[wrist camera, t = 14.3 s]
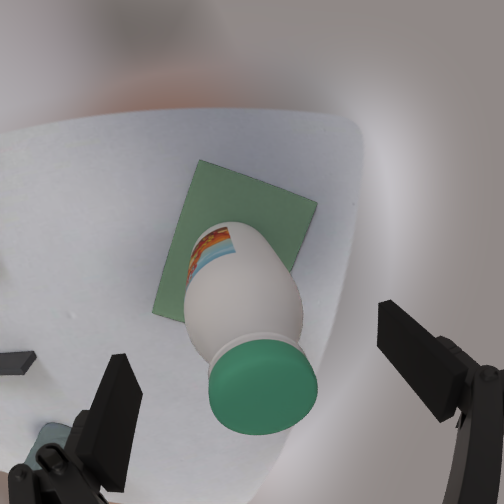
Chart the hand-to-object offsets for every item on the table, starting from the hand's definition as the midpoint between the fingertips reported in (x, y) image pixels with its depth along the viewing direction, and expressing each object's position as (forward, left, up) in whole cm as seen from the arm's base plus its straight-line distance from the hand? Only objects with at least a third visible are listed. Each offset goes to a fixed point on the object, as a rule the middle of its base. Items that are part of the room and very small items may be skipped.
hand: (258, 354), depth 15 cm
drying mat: (0, 0, -17) cm, 17 cm away
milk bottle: (0, 0, -17) cm, 17 cm away
